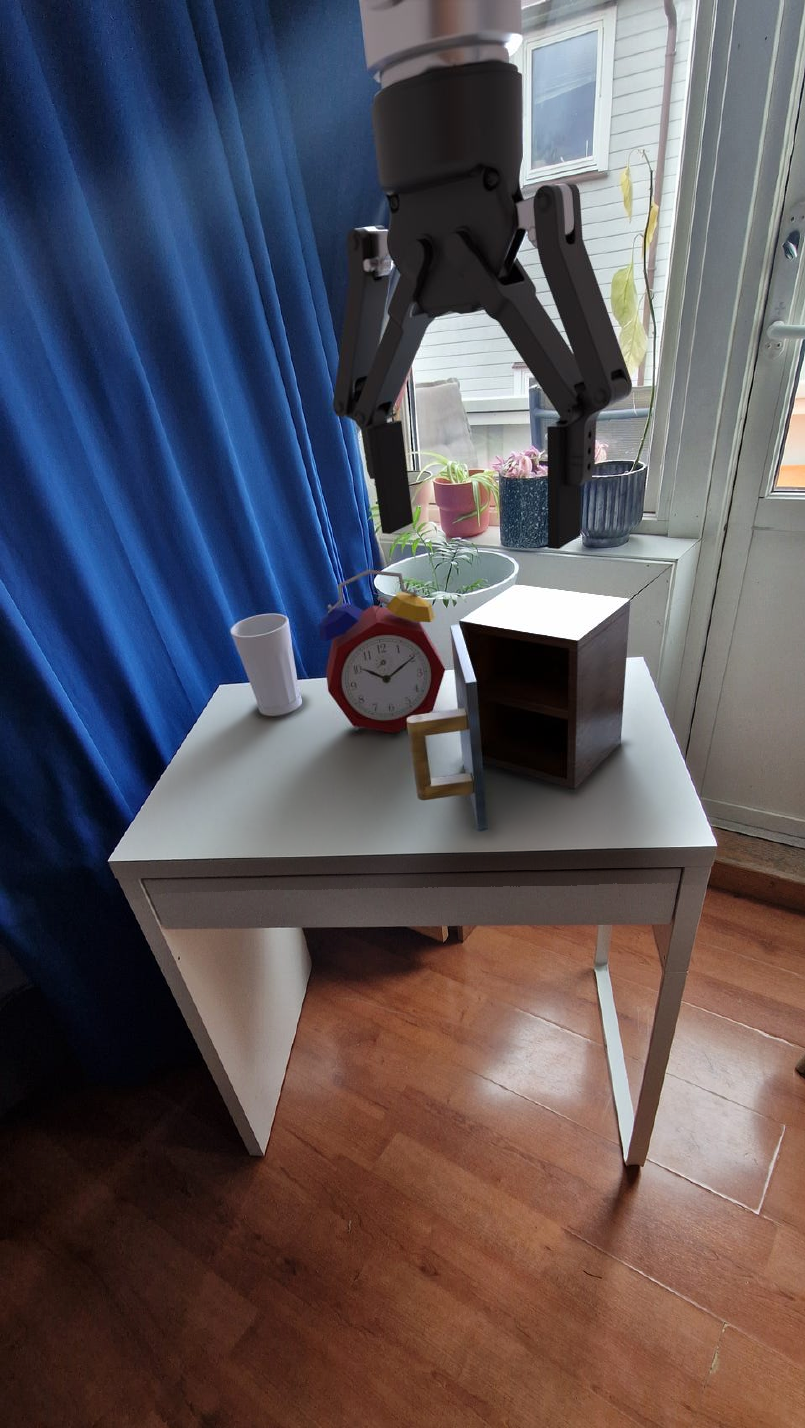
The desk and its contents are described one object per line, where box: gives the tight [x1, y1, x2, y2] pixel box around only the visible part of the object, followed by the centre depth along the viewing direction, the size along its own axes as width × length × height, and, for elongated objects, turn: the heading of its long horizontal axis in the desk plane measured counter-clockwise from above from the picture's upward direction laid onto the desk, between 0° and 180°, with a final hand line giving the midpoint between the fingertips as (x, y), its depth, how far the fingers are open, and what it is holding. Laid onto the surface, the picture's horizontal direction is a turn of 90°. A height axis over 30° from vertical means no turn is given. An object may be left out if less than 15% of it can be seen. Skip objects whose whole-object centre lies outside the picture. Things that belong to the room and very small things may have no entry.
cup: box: [229, 613, 303, 717], centre depth 101 cm, size 8×8×12 cm
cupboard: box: [458, 584, 631, 790], centre depth 81 cm, size 11×14×17 cm
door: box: [406, 623, 488, 831], centre depth 76 cm, size 7×14×17 cm, turn 3°
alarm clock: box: [318, 569, 446, 734], centre depth 91 cm, size 15×9×20 cm, turn 97°
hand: (474, 535), depth 49 cm, fingers open, 13 cm apart
